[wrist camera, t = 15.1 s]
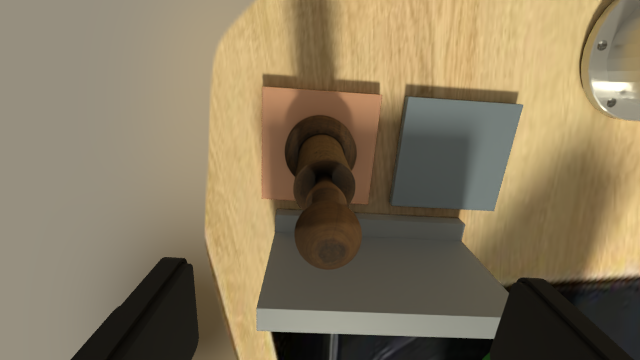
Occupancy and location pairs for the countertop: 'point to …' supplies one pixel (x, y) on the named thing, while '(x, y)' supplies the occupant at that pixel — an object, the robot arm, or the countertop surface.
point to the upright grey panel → (383, 283)
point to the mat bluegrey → (452, 153)
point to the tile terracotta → (297, 104)
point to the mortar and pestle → (324, 191)
